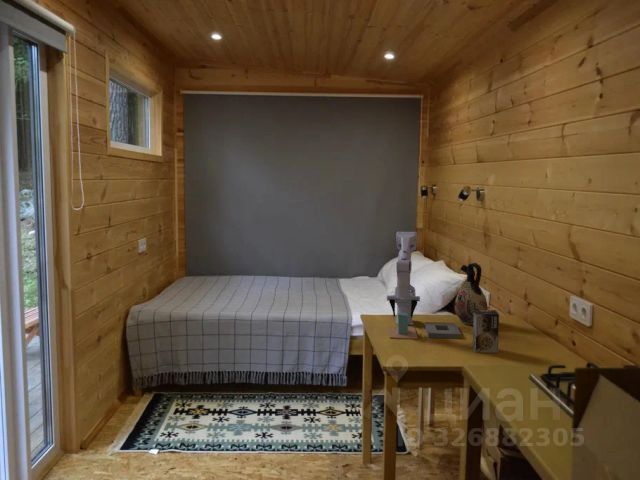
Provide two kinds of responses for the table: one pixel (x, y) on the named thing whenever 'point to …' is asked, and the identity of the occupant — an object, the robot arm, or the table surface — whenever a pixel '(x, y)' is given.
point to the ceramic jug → (470, 295)
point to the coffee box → (485, 331)
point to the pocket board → (442, 330)
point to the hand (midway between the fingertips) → (402, 316)
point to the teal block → (402, 323)
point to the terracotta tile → (394, 334)
